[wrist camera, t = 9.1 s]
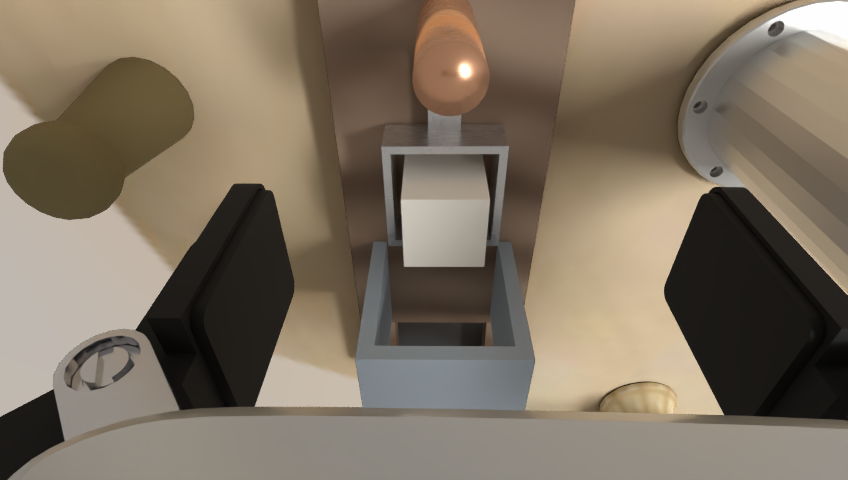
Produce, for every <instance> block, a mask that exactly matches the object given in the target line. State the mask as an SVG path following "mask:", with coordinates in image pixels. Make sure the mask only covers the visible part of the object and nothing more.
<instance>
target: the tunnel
mask: <svg viewBox="0 0 848 480" xmlns="http://www.w3.org/2000/svg"><path fill="white" fill-rule="evenodd" d="M490 319H491V327H492V335H493V343H494V346H389V344H390V333H391V322H392V305H391V292H390V279H389V265H388V252H387V242H373V248H372V255H371V261H370V268H369V274H368V280H367V287H366V293H365V299H364V306H363V312H362V319H361V325H360V331H359V338H358V344H357V351H356V357H355V362H356V368H357V375H358V381H359V387H360V394H361V400H362V406H363V407H364V408H426V409H480V410H525V407H526V403H527V398H528V393H529V388H530V383H531V379H532V374H533V369H534V364H535V356H534V351H533V347H532V342H531V337H530V332H529V327H528V322H527V317H526V312H525V308H524V303H523V298H522V293H521V288H520V283H519V278H518V273H517V268H516V264H515V259H514V254H513V249H512V244H511V242H499V244H498V246H497V253H496V263H495V272H494V281H493V291H492V300H491V310H490Z"/></svg>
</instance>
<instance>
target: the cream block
mask: <svg viewBox="0 0 848 480" xmlns="http://www.w3.org/2000/svg"><path fill="white" fill-rule="evenodd" d="M489 207H490V196H489V190H488V184H487V178H486V172H485V166H484V160H483V154H405V161H404V171H403V182H402V192H401V215H402V235H403V256H404V267H484V264H485V252H486V241H487V230H488V218H489Z"/></svg>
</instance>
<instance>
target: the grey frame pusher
mask: <svg viewBox="0 0 848 480" xmlns="http://www.w3.org/2000/svg"><path fill="white" fill-rule="evenodd" d="M489 80H490V74H489V68H488V64H487V61H486V57H485V53H484V50H483V46H482V42H481V38H480V35H479V31H478V27H477V23H476V20H475V16H474V12H473V9H472V6H471V5H470V3H469V1H468V0H426V1H425V2H424V3H423V5H422V6H421V9H420V11H419V15H418V24H417V35H416V45H415V55H414V66H413V78H412V81H413V88H414V91H415V94H416V96H417V98H418V100H419V101H420V102H421V104H422V105H423V106H424V107H426V108H427V109H428V124H385V129H384V134H383V140H382V145H381V150H382V164H383V178H384V191H385V205H386V219H387V233H388V246H403V235H402V215H401V214H398V204H397V185H396V167H395V154H493V155H492V166H491V178H490V190H489V196H490V207H489V218H488V230H487V241H486V246H498V244H499V234H500V225H501V216H502V207H503V197H504V188H505V179H506V170H507V160H508V151H509V144H508V141H507V137H506V133H505V129H504V125H503V124H461V115H462V114H465V113H467V112H469V111H470V110H472V109H474V108H475V107H476V106H477V105H478V104H479V103H480V102H481V101H482V99H483V98H484V96H485V94H486V92H487V90H488V86H489Z"/></svg>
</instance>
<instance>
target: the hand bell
mask: <svg viewBox="0 0 848 480" xmlns="http://www.w3.org/2000/svg"><path fill="white" fill-rule="evenodd" d="M676 405H677V395H676V393H675V392H674V390H673V389H671V388H670V387H668V386H666V385H664V384H660V383H654V382H642V383H634V384H630V385H627V386H623V387H621V388H619V389H617V390H615V391H613V392H612V393H610V394H609V395H607V396H606V397H605V398H604V400H603V401H602V402H601V404H600V408H599V412H618V413H656V414H672V413H673V411H674V410H675V408H676Z"/></svg>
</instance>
